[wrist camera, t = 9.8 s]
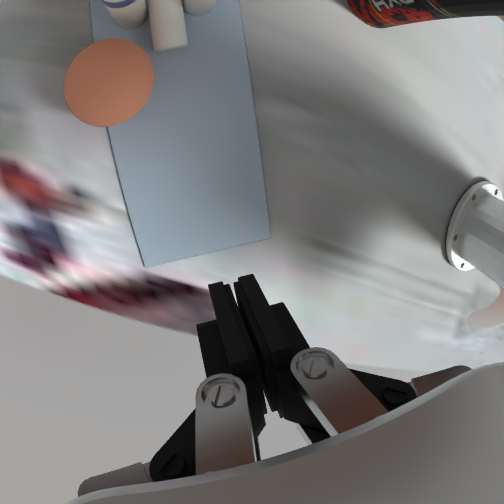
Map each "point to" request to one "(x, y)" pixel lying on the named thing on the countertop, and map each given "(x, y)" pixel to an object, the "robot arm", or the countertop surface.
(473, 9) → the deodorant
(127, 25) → the pin
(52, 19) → the countertop surface
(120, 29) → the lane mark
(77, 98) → the ball
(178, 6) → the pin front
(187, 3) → the pin
